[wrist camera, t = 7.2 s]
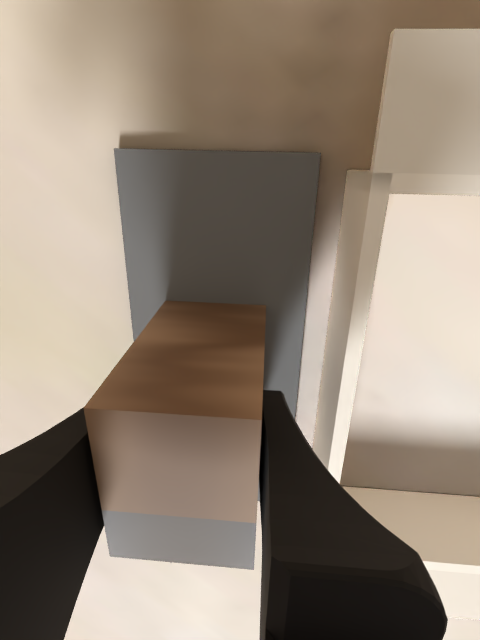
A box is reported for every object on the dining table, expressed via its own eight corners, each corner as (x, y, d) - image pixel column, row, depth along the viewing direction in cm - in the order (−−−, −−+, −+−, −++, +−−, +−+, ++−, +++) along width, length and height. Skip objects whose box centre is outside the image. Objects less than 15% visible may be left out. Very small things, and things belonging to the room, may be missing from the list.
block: (266, 305, 14) (261, 420, 8) (260, 410, 16) (254, 569, 10) (165, 300, 15) (83, 408, 8) (171, 404, 17) (110, 556, 10)
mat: (319, 153, 13) (320, 152, 12) (286, 496, 19) (286, 503, 19) (118, 148, 13) (113, 148, 13) (151, 485, 19) (149, 492, 19)
